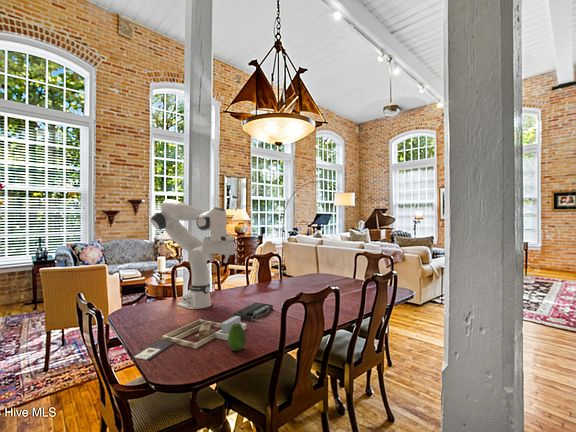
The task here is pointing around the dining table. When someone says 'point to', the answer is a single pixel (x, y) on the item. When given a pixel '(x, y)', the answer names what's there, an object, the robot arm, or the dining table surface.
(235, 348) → the avocado
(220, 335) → the cradle
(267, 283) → the dining table surface
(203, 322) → the frame
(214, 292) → the dining table surface
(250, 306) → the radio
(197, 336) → the offcut low
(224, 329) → the pale grey rectangular block
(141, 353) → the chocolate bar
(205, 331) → the offcut top
